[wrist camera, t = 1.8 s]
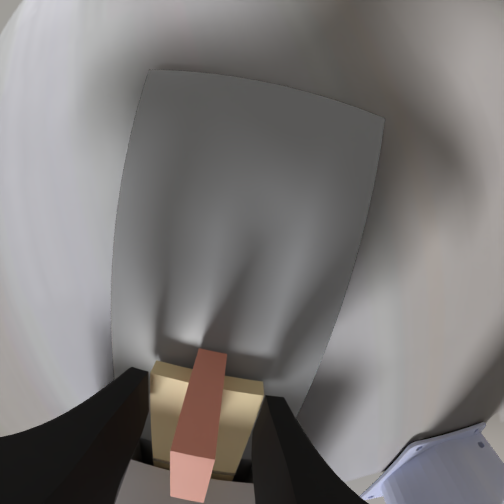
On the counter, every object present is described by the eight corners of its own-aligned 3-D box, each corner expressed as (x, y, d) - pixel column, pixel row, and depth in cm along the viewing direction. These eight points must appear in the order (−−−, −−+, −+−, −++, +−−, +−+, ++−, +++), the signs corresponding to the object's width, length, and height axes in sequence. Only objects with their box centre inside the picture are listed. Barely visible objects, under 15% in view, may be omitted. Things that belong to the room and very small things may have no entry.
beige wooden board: (269, 360, 9) (281, 466, 5) (218, 505, 12) (214, 556, 8) (157, 338, 9) (107, 430, 5) (160, 494, 12) (148, 543, 8)
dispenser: (411, 136, 8) (566, 108, 2) (261, 508, 14) (264, 577, 7) (119, 75, 8) (-5, -11, 1) (119, 481, 13) (97, 546, 6)
